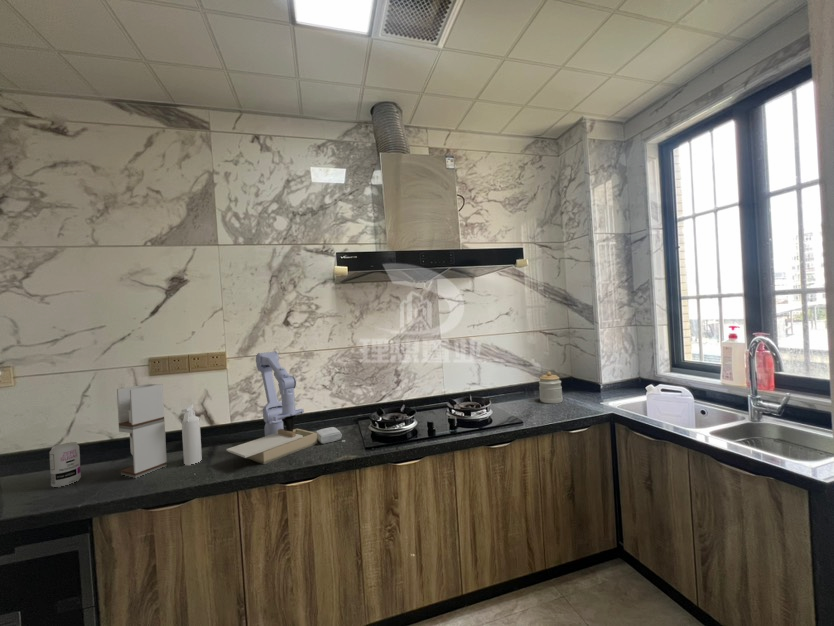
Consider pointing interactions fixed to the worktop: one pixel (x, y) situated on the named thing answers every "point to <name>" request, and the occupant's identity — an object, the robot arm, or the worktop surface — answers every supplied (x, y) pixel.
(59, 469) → the supplement can
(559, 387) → the jar
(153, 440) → the white wood-trimmed shelf
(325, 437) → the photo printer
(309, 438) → the box
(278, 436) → the sliding box lid
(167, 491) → the worktop surface
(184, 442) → the fire extinguisher
